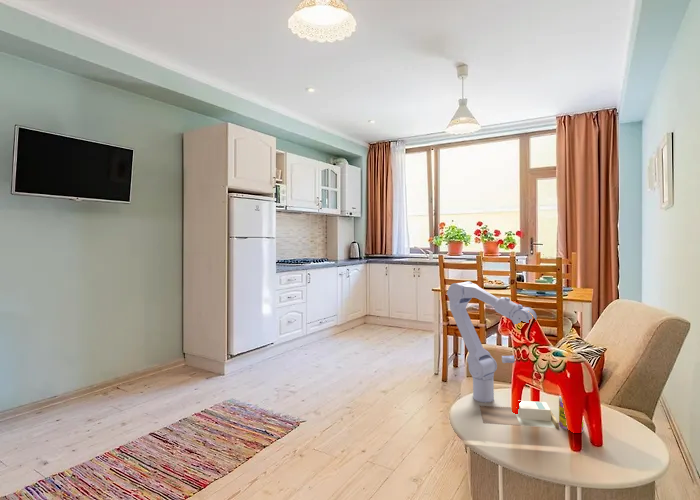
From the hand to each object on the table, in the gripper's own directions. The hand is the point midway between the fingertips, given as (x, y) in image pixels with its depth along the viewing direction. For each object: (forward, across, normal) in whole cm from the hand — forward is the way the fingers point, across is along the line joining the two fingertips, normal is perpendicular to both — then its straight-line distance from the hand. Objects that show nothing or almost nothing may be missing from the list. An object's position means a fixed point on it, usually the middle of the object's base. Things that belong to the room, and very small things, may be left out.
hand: (525, 384), depth 139 cm
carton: (+9, +2, -3) cm, 10 cm away
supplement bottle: (+10, +11, -9) cm, 18 cm away
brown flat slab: (+10, -4, -4) cm, 12 cm away
